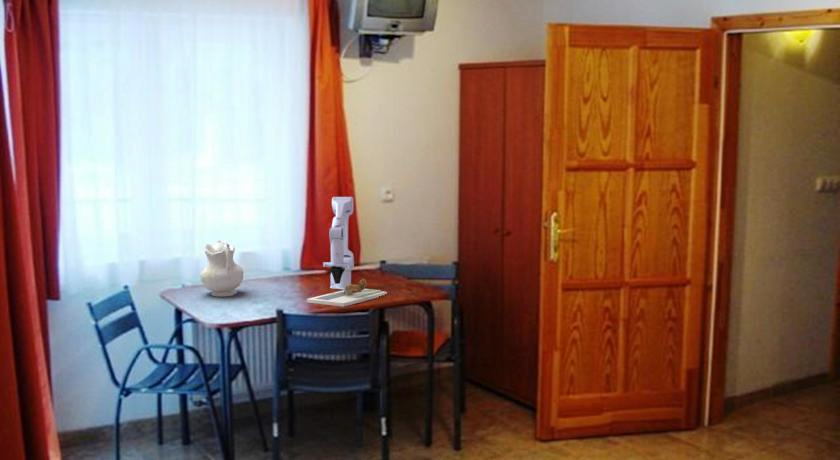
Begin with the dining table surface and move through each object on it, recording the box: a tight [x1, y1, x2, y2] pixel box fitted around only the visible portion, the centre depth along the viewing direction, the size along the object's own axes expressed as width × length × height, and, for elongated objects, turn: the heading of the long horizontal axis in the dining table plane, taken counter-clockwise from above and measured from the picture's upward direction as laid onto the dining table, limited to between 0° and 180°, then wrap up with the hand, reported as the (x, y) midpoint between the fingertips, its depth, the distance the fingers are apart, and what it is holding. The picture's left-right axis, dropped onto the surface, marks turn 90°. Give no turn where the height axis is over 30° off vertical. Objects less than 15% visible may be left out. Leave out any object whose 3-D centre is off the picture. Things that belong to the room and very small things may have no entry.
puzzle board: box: [306, 288, 388, 308], centre depth 364 cm, size 20×36×2 cm, turn 149°
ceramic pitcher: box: [200, 240, 244, 297], centre depth 370 cm, size 22×20×25 cm
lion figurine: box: [344, 279, 367, 295], centre depth 371 cm, size 12×4×7 cm, turn 116°
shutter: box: [345, 288, 382, 298], centre depth 365 cm, size 6×20×3 cm, turn 149°
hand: (337, 283), depth 362 cm, fingers closed
